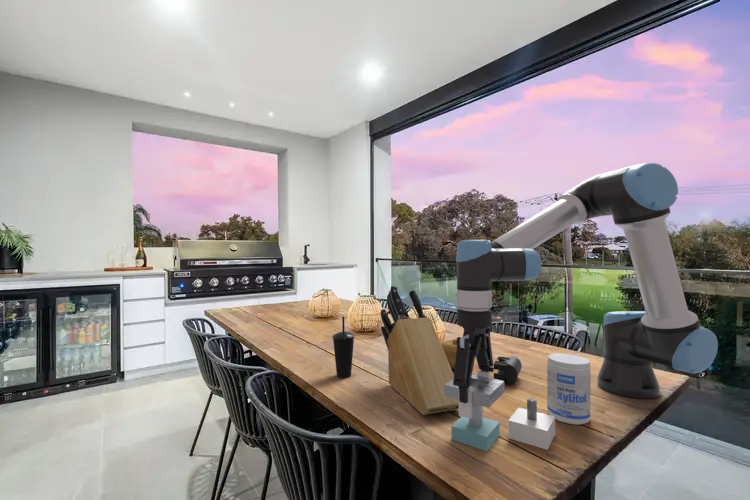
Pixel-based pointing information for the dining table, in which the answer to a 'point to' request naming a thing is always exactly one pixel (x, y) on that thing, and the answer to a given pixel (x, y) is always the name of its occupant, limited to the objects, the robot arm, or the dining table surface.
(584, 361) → the supplement tub
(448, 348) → the pot
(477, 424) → the teal peg base
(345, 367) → the drinking cup
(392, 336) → the knife block
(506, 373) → the end cap
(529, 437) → the stand
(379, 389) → the dining table surface
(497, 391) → the square block with hole
